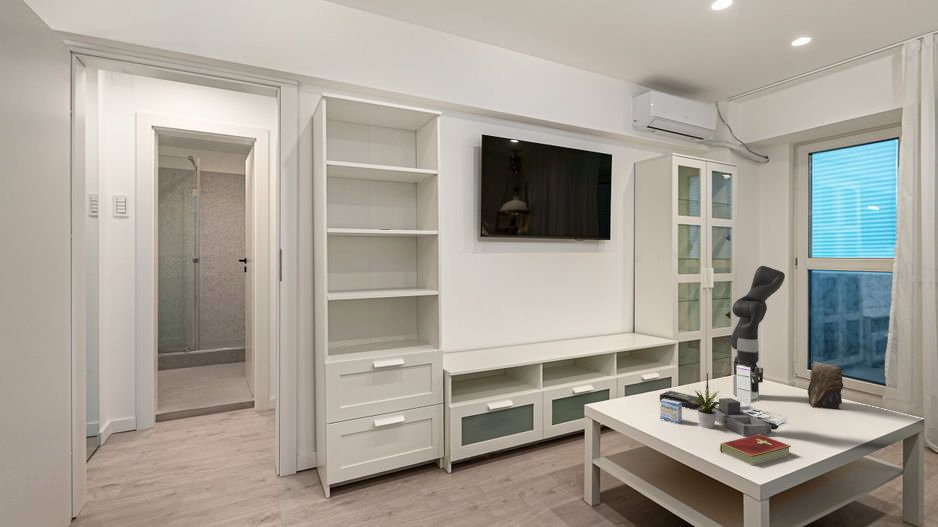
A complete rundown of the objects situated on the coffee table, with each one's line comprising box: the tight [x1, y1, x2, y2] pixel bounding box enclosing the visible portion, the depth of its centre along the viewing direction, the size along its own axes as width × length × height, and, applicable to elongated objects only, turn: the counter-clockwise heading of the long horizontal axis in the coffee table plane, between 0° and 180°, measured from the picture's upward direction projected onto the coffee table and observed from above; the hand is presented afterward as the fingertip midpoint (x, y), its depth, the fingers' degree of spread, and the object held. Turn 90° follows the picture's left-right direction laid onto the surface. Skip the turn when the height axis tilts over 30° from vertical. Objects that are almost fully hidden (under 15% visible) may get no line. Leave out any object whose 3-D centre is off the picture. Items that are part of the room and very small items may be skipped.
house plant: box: [685, 388, 722, 429], centre depth 189 cm, size 14×14×16 cm
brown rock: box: [807, 361, 844, 410], centre depth 214 cm, size 13×13×20 cm
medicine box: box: [659, 399, 683, 424], centre depth 196 cm, size 8×4×9 cm, turn 47°
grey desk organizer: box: [713, 397, 772, 437], centre depth 192 cm, size 27×12×9 cm, turn 6°
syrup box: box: [736, 365, 760, 404], centre depth 184 cm, size 6×6×14 cm
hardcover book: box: [719, 434, 792, 466], centre depth 162 cm, size 12×21×4 cm, turn 113°
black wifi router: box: [659, 372, 710, 410], centre depth 218 cm, size 20×14×17 cm
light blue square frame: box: [740, 405, 763, 412], centre depth 204 cm, size 12×12×1 cm
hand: (747, 389), depth 184 cm, fingers closed on syrup box, 7 cm apart
